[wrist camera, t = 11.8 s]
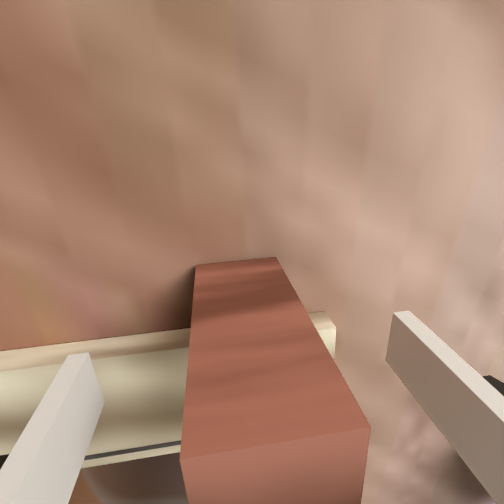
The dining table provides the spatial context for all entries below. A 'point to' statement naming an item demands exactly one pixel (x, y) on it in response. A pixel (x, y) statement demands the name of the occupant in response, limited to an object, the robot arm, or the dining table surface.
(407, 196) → the dining table surface
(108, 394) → the board
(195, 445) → the block
